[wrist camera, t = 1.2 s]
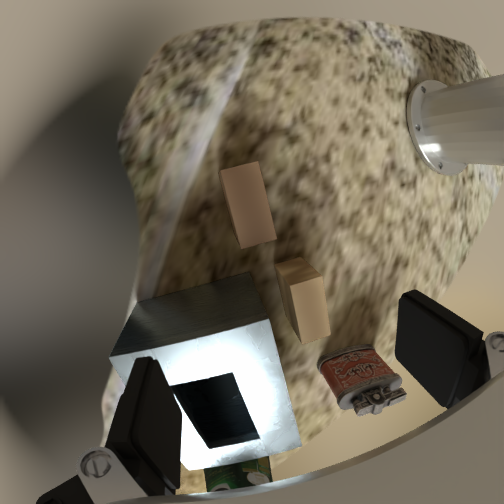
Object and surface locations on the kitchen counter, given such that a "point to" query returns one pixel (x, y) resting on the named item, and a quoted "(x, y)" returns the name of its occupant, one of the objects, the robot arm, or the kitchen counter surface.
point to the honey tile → (303, 299)
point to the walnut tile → (247, 204)
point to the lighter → (361, 379)
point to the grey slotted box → (215, 370)
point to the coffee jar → (238, 475)
